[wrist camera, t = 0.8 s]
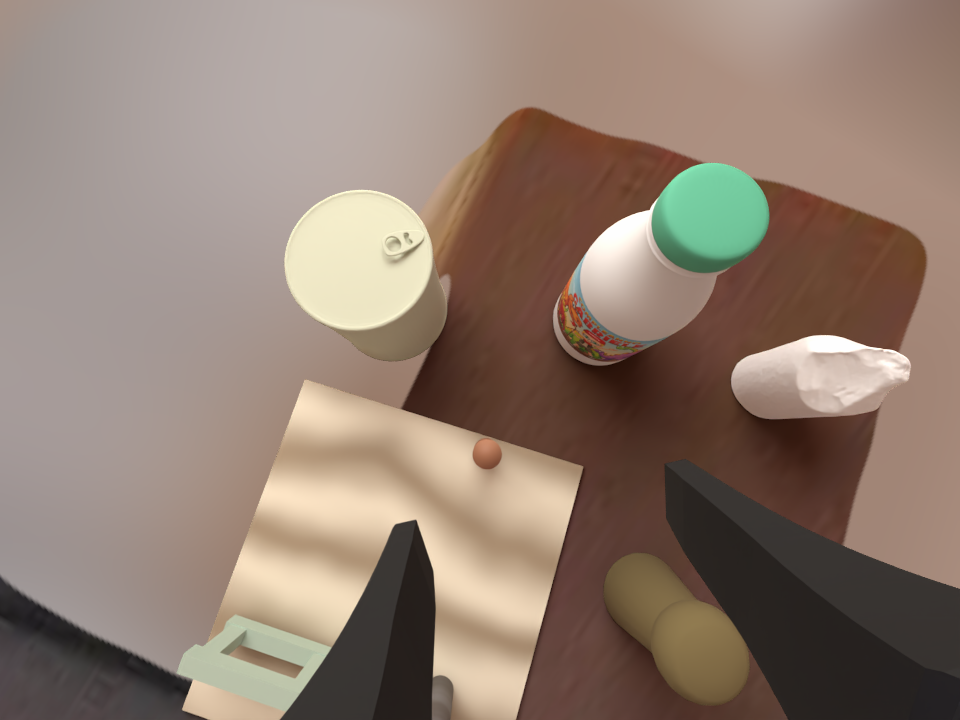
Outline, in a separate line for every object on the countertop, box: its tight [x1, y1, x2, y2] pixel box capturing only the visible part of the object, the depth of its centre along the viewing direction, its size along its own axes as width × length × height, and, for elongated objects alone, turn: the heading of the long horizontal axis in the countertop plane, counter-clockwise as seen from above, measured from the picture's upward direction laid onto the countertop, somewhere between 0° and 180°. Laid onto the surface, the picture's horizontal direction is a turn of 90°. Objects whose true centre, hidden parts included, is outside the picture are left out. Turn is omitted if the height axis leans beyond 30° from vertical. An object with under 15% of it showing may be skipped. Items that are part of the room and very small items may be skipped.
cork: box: [604, 553, 750, 706], centre depth 30 cm, size 6×6×11 cm
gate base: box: [182, 379, 583, 720], centre depth 31 cm, size 26×24×8 cm
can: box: [284, 190, 447, 361], centre depth 33 cm, size 9×9×12 cm
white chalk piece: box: [731, 335, 911, 419], centre depth 32 cm, size 6×12×6 cm
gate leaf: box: [177, 615, 332, 712], centre depth 31 cm, size 15×1×6 cm, turn 73°
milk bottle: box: [553, 163, 769, 366], centre depth 29 cm, size 8×8×20 cm
